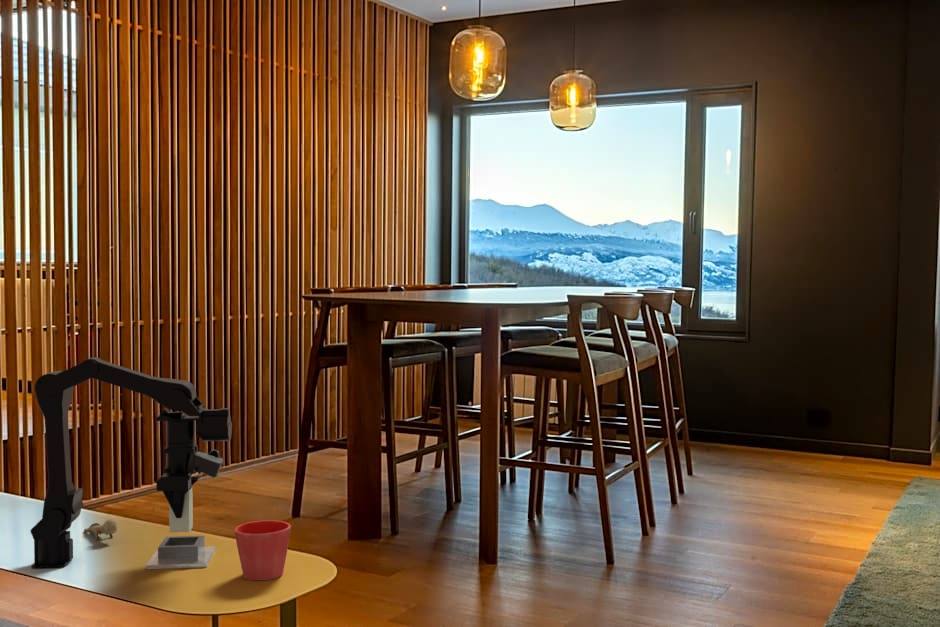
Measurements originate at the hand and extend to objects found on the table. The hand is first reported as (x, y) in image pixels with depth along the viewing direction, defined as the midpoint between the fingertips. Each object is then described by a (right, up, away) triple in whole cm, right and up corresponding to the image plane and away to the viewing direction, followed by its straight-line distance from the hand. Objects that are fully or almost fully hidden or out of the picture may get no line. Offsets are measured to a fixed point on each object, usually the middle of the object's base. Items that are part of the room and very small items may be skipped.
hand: (181, 515), depth 195 cm
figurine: (-23, -9, +17) cm, 30 cm away
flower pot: (+19, -10, -9) cm, 24 cm away
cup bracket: (0, -9, 0) cm, 9 cm away
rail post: (0, -3, 0) cm, 3 cm away
